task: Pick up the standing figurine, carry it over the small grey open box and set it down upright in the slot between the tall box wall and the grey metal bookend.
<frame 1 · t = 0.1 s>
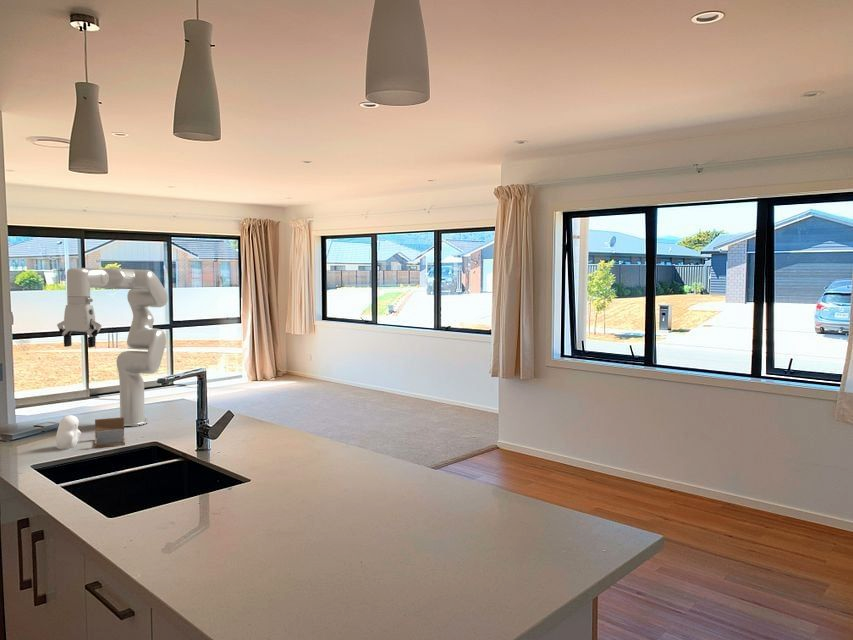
hand: (79, 346, 233), 37 cm above the worktop, tool pointing down, fingers open, 9 cm apart
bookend: (110, 446, 233), resting on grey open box
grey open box: (110, 442, 238), on the worktop
figurine: (67, 447, 231), on the worktop
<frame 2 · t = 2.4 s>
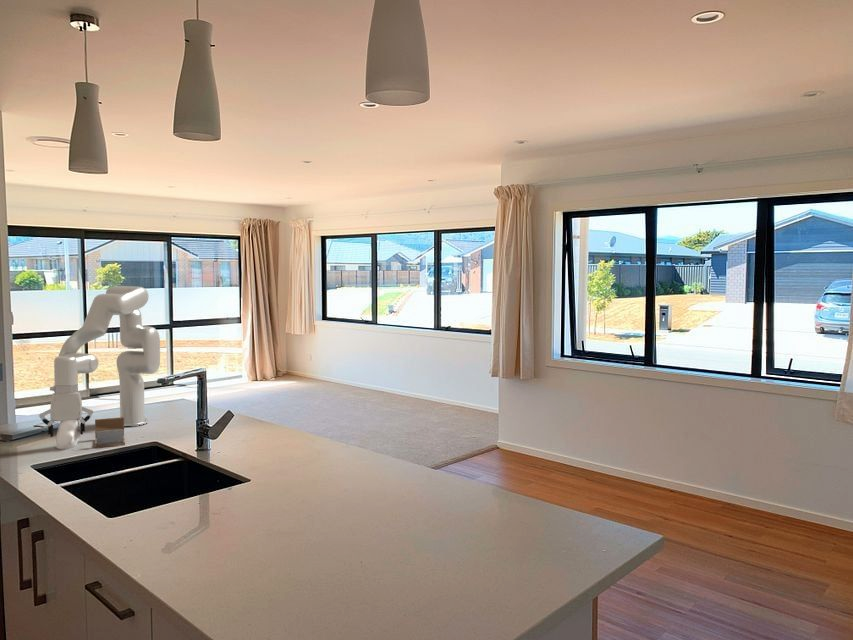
hand: (66, 434, 230), 5 cm above the worktop, tool pointing down, fingers open, 9 cm apart
figurine: (67, 447, 231), on the worktop, touching gripper
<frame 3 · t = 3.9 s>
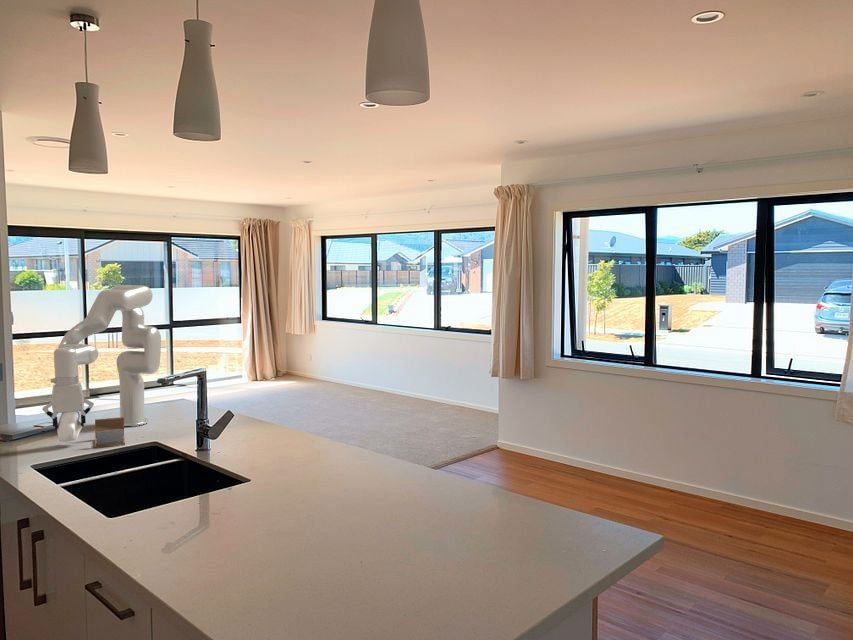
hand: (69, 426, 232), 7 cm above the worktop, tool pointing down, fingers closed on figurine, 8 cm apart
figurine: (69, 439, 232), point 2 cm above the worktop, touching gripper
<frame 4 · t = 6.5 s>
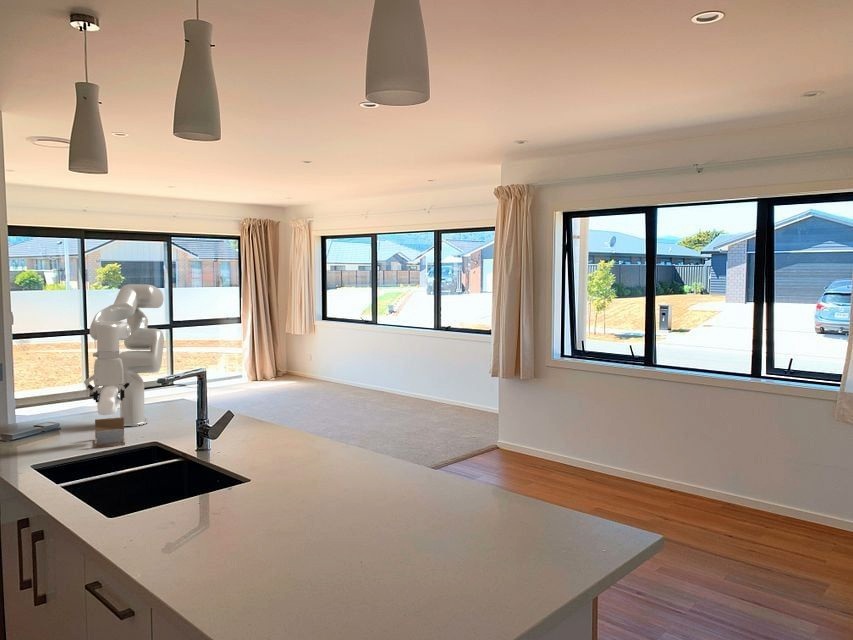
hand: (109, 400, 237), 16 cm above the worktop, tool pointing down, fingers closed on figurine, 8 cm apart
figurine: (108, 413, 238), point 11 cm above the worktop, touching gripper
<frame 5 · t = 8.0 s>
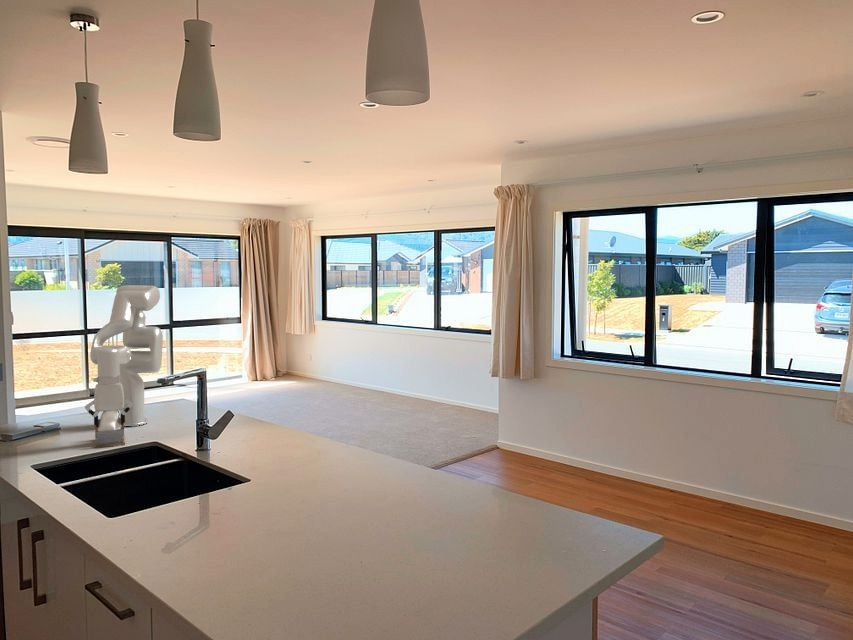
hand: (109, 425, 238), 7 cm above the worktop, tool pointing down, fingers closed on figurine, 8 cm apart
figurine: (109, 438, 238), point 1 cm above the worktop, touching gripper
when the fingers open (6 cm above the worktop, at t = 9.3 s): figurine stays where it is, resting on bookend, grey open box.
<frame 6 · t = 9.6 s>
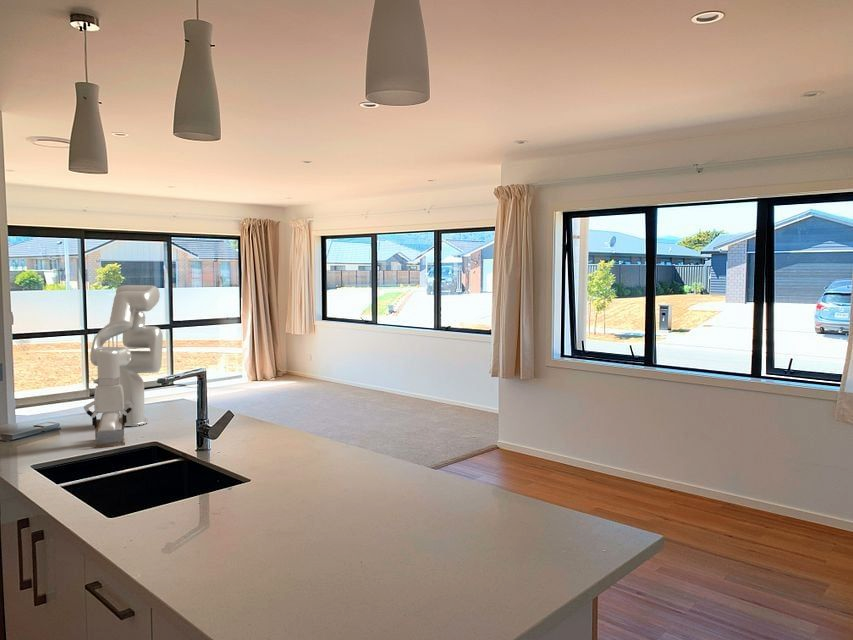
hand: (109, 426, 238), 6 cm above the worktop, tool pointing down, fingers open, 9 cm apart
figurine: (109, 439, 238), point 1 cm above the worktop, touching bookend, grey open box
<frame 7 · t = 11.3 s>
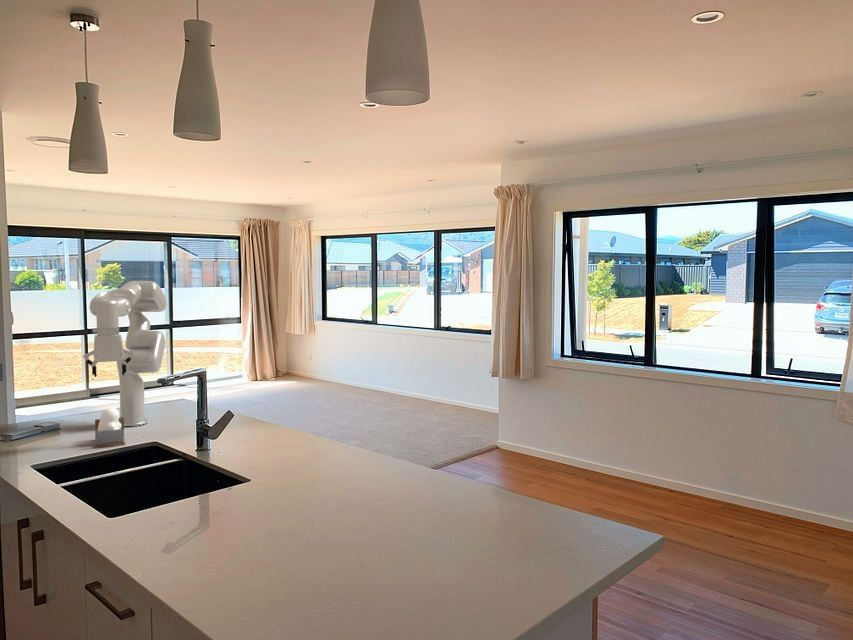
hand: (109, 375, 240), 25 cm above the worktop, tool pointing down, fingers open, 9 cm apart
nothing on the worktop moved.
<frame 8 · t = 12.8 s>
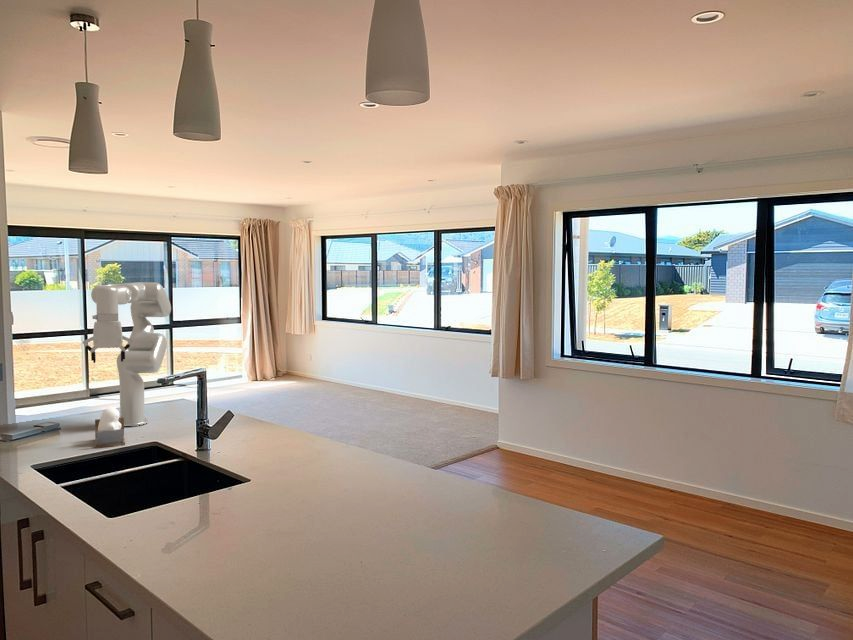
hand: (108, 361, 242), 30 cm above the worktop, tool pointing down, fingers open, 9 cm apart
nothing on the worktop moved.
at the end: figurine inside the target area (0.4 cm from its centre), point 1.1 cm above the worktop; figurine tilted 5°; the gripper is holding nothing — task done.
